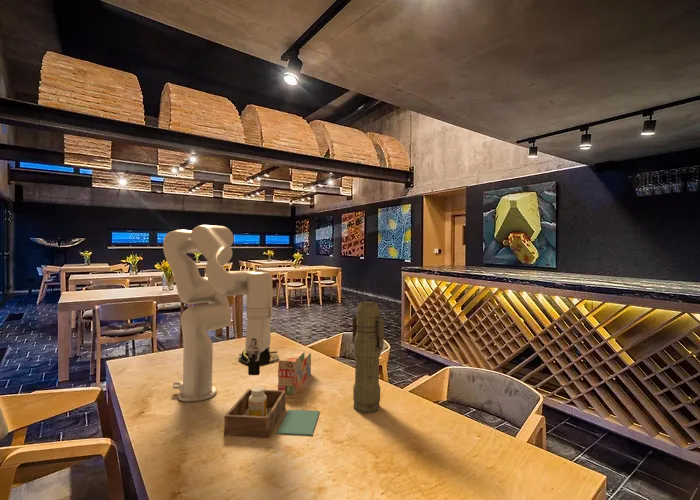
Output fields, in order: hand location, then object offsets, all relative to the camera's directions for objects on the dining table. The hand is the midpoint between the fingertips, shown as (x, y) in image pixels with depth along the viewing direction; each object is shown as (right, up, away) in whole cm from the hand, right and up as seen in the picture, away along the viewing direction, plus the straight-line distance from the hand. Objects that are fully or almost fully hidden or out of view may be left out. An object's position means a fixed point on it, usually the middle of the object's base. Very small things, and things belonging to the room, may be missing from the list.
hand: (259, 369), depth 103 cm
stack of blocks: (+6, -16, +30) cm, 35 cm away
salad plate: (-16, -16, +58) cm, 62 cm away
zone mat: (+12, -16, 0) cm, 20 cm away
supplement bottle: (-1, -16, 0) cm, 16 cm away
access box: (-1, -16, 0) cm, 16 cm away
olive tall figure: (+33, -16, +10) cm, 38 cm away
